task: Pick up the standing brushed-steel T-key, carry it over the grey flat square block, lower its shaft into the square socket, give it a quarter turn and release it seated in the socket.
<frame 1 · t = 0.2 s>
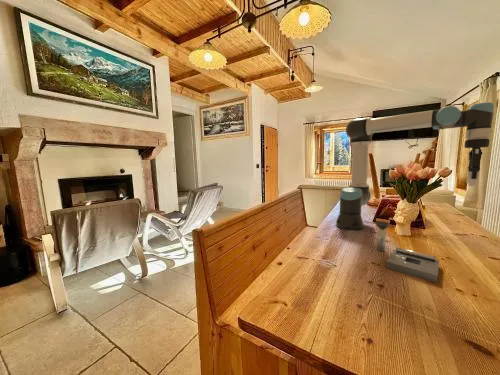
hand: (471, 184, 94), 28 cm above the table, fingers open, 13 cm apart
grey flat square block: (412, 267, 75), on the table
key: (380, 250, 89), on the table
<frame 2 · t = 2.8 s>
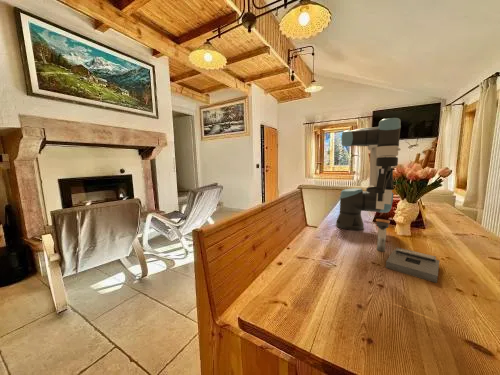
hand: (383, 206, 87), 20 cm above the table, fingers open, 13 cm apart
nothing on the table moved.
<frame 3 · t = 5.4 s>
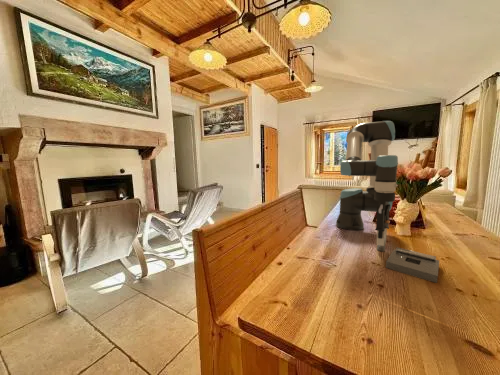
hand: (381, 243, 89), 3 cm above the table, fingers closed on key, 3 cm apart
key: (380, 250, 89), on the table, touching gripper
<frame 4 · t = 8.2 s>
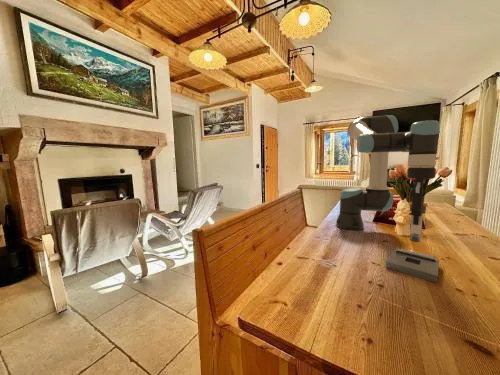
hand: (415, 231, 73), 14 cm above the table, fingers closed on key, 3 cm apart
key: (415, 240, 73), point 10 cm above the table, touching gripper
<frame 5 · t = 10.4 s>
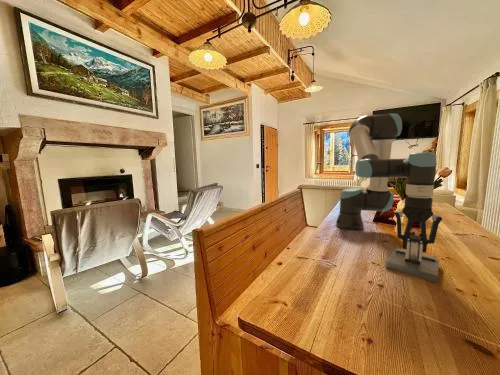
hand: (413, 258, 74), 3 cm above the table, fingers closed on key, 3 cm apart
key: (412, 267, 75), resting in grey flat square block, touching gripper
when the fingers open (3 cm above the table, at t = 11.4 s): key stays where it is, resting in grey flat square block.
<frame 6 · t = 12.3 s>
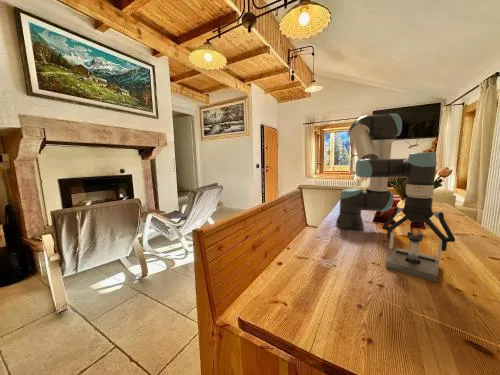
hand: (413, 252, 74), 6 cm above the table, fingers open, 13 cm apart
key: (412, 267, 75), resting in grey flat square block
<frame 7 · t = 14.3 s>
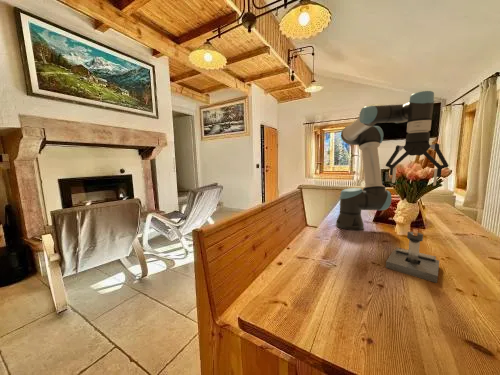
hand: (412, 184, 85), 30 cm above the table, fingers open, 13 cm apart
nothing on the table moved.
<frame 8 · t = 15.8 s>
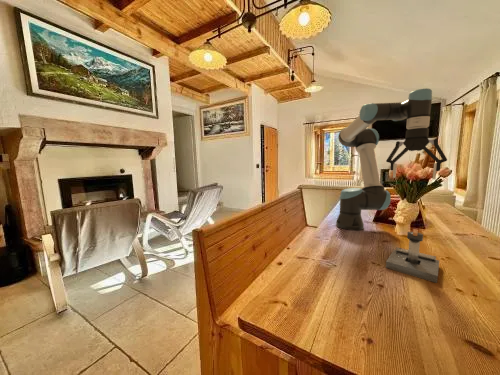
hand: (412, 178, 88), 32 cm above the table, fingers open, 13 cm apart
nothing on the table moved.
at the end: key 0.0 cm off-centre on the grey flat square block, point 0.0 cm above the grey flat square block's base; key tilted 0°; the gripper is holding nothing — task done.
